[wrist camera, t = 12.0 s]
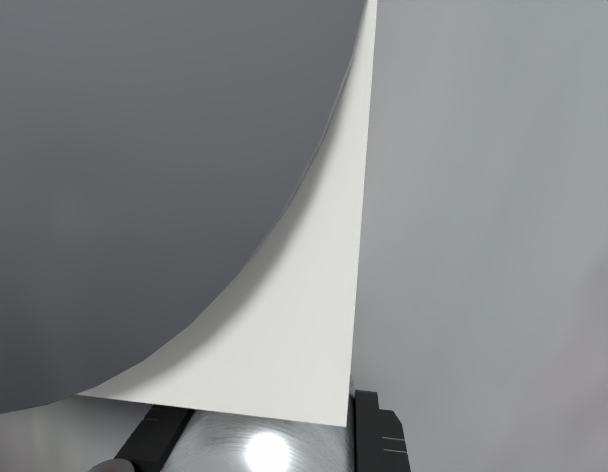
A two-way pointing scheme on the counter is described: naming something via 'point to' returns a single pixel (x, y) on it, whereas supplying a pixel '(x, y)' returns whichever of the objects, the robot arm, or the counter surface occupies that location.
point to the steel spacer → (263, 444)
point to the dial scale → (182, 202)
